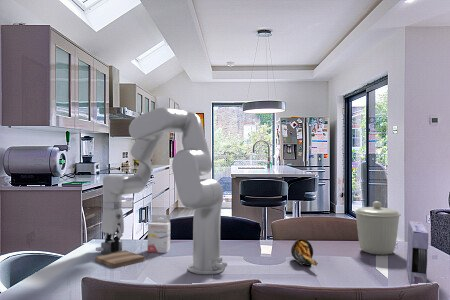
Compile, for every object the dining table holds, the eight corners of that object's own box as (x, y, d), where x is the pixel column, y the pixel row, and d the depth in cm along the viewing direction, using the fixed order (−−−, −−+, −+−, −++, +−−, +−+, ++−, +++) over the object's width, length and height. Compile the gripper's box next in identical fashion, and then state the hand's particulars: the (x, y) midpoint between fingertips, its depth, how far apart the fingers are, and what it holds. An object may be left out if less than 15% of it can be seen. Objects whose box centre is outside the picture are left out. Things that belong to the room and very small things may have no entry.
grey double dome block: (124, 250, 161) (124, 240, 161) (99, 255, 153) (99, 245, 153) (118, 248, 164) (118, 239, 164) (94, 253, 156) (94, 243, 156)
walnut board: (144, 260, 146) (144, 256, 146) (114, 268, 137) (114, 263, 137) (125, 254, 155) (125, 250, 155) (95, 260, 145) (95, 256, 145)
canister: (410, 255, 156) (411, 203, 156) (375, 259, 150) (375, 205, 150) (377, 245, 173) (378, 198, 173) (344, 248, 166) (345, 199, 167)
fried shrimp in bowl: (306, 244, 154) (334, 239, 138) (302, 272, 149) (330, 270, 133) (286, 237, 152) (312, 230, 136) (281, 265, 147) (307, 262, 131)
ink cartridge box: (147, 252, 158) (147, 216, 158) (150, 249, 163) (150, 214, 163) (167, 253, 158) (167, 216, 158) (170, 250, 162) (170, 214, 163)
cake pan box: (428, 291, 116) (429, 231, 116) (410, 288, 118) (410, 230, 118) (422, 272, 134) (422, 221, 134) (406, 270, 136) (406, 220, 136)
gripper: (131, 206, 156) (131, 252, 156) (109, 202, 167) (109, 245, 167) (115, 208, 151) (114, 255, 151) (93, 204, 162) (92, 248, 162)
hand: (111, 249), depth 159 cm, fingers closed on grey double dome block, 4 cm apart
